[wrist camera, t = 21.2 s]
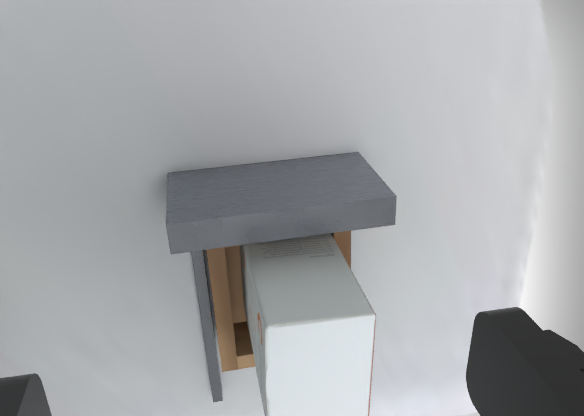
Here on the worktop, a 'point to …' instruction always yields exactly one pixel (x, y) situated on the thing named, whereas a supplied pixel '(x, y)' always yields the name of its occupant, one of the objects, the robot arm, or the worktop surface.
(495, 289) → the worktop surface
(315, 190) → the backstop track
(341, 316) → the small box
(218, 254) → the socket block
